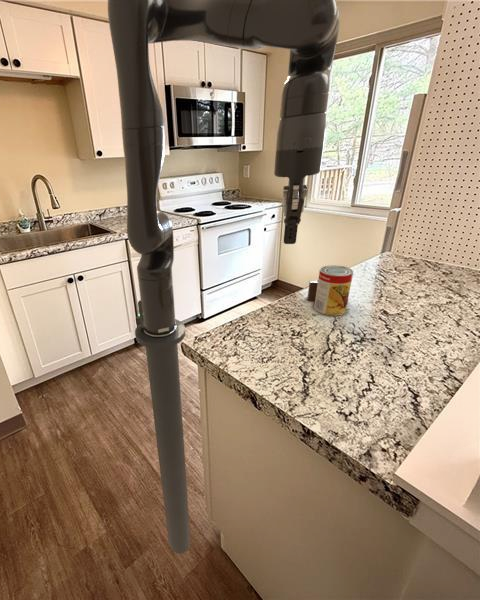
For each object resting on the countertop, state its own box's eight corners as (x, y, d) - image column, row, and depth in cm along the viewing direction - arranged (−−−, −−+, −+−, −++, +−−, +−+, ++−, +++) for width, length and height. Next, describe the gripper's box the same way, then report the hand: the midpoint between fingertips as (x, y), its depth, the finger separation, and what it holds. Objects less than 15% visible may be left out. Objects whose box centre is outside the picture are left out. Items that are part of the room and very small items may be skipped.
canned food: (352, 311, 87) (360, 271, 82) (329, 318, 85) (337, 277, 80) (329, 301, 94) (335, 263, 88) (307, 306, 92) (313, 268, 87)
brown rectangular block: (307, 300, 95) (310, 282, 93) (307, 297, 97) (309, 280, 94) (345, 303, 91) (349, 284, 89) (344, 300, 93) (347, 281, 91)
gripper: (276, 147, 61) (270, 234, 68) (275, 149, 50) (267, 252, 57) (319, 143, 58) (308, 234, 65) (328, 144, 47) (313, 253, 54)
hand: (289, 242), depth 61 cm, fingers closed
